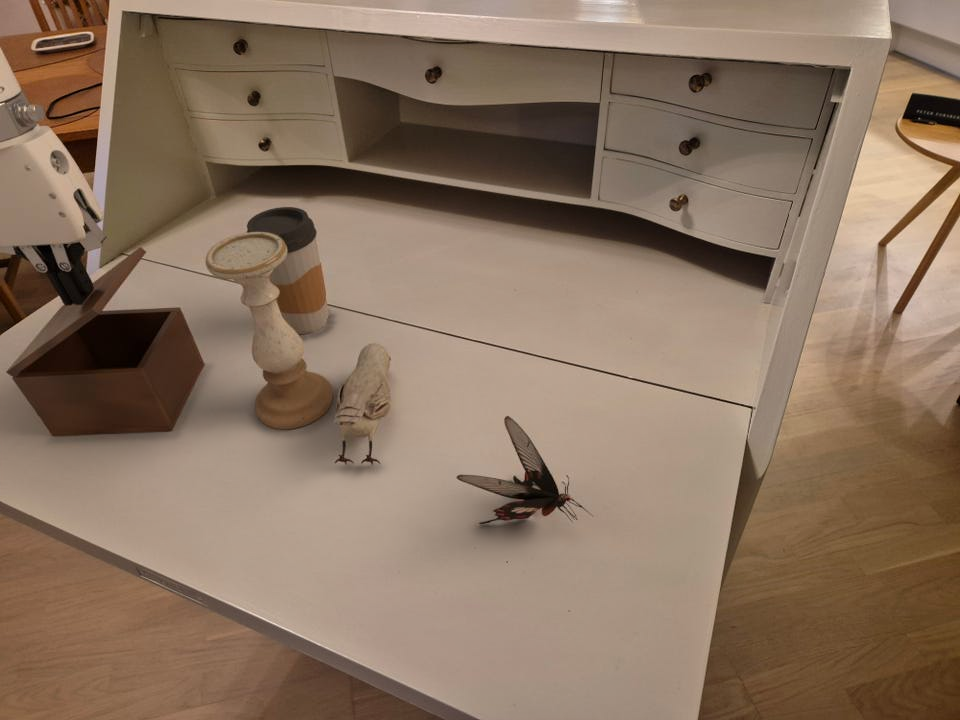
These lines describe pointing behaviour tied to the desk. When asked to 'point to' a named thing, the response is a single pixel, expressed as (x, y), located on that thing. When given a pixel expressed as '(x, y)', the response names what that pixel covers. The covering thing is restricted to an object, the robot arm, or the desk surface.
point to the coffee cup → (296, 268)
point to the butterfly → (524, 482)
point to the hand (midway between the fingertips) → (80, 297)
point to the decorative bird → (364, 398)
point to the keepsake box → (115, 374)
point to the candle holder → (271, 331)
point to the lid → (77, 313)
